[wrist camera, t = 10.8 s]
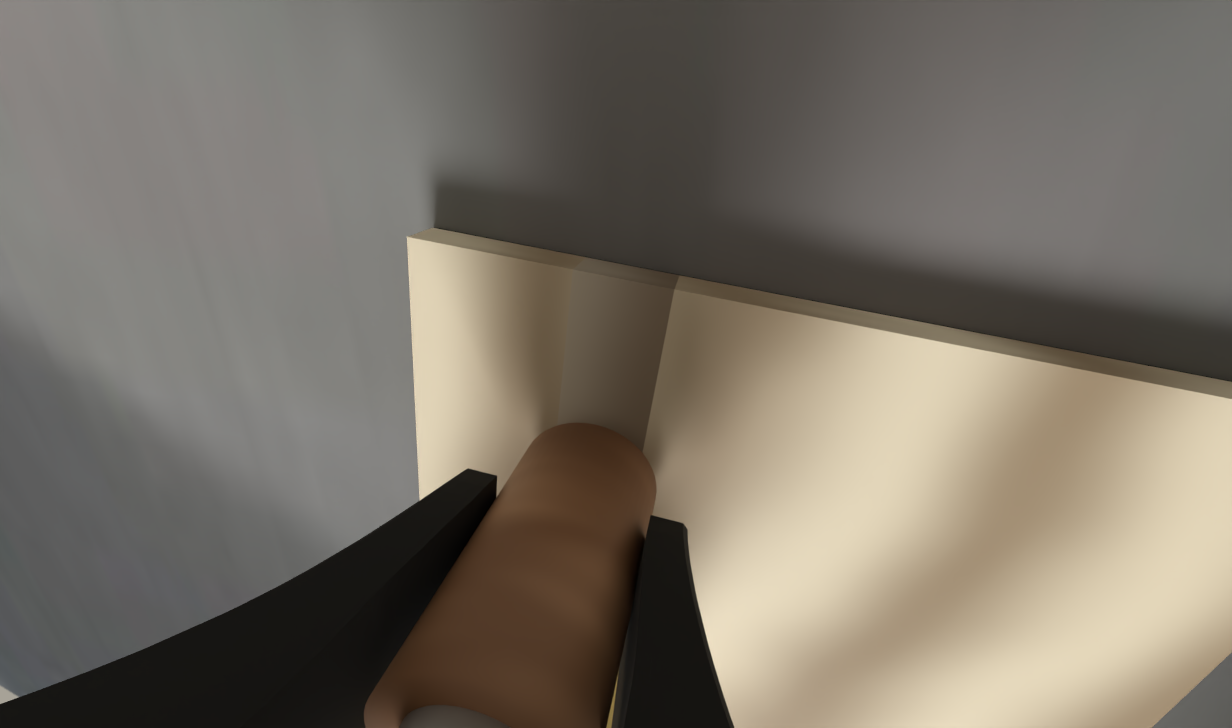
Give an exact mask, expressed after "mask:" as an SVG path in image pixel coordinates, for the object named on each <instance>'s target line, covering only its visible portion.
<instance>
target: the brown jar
mask: <svg viewBox="0 0 1232 728" xmlns="http://www.w3.org/2000/svg"><path fill="white" fill-rule="evenodd" d="M656 493H657V488H656V479H655V475H654V472H653V470H652V467H651V465H650V463H649V462H648V460H647V459H646V457H645V456H644V454H643V453H642V452H641V451H640V450H639V449H638V447H636V446H635V445H634V444H633V443H632V442H631V441H629V440H628V439H627V438H625V437H624V436H622V435H620V434H619V433H617V432H615V431H613V430H610V429H608V428H606V427H602V426H599V425H595V424H589V423H566V424H561V425H558V426H555V427H552V428H550V429H548V430H546V431H544V432H543V433H541V434H540V435H539V436H537V437H536V438H535V439H534V440H533V442H532V443H531V444H530V446H529V447H528V449H527V450H526V452H525V454H524V455H523V457H522V458H521V460H520V461H519V463H518V465H517V466H516V468H515V469H514V471H513V472H512V474H511V475H510V477H509V479H508V480H507V482H506V483H505V485H504V486H503V488H502V490H501V491H500V493H499V494H498V496H497V497H496V499H495V501H494V502H493V504H492V505H491V507H490V508H489V510H488V511H487V513H486V515H485V516H484V518H483V519H482V521H481V522H480V524H479V526H478V527H477V529H476V530H475V532H474V533H473V535H472V537H471V538H470V540H469V541H468V543H467V544H466V546H465V548H464V549H463V551H462V552H461V554H460V555H459V557H458V558H457V560H456V562H455V563H454V565H453V566H452V568H451V569H450V571H449V573H448V574H447V576H446V577H445V579H444V580H443V582H442V584H441V585H440V587H439V588H438V590H437V591H436V593H435V595H434V596H433V598H432V599H431V601H430V602H429V604H428V605H427V607H426V609H425V610H424V612H423V613H422V615H421V616H420V618H419V620H418V621H417V623H416V624H415V626H414V627H413V629H412V631H411V632H410V634H409V635H408V637H407V638H406V640H405V642H404V643H403V645H402V646H401V648H400V649H399V651H398V652H397V654H396V656H395V657H394V659H393V660H392V662H391V663H390V665H389V667H388V668H387V670H386V671H385V673H384V674H383V676H382V678H381V679H380V681H379V682H378V684H377V685H376V687H375V689H374V690H373V692H372V693H371V695H370V696H369V698H368V700H367V702H366V705H365V709H364V723H365V727H366V728H606V727H607V722H608V718H609V713H610V708H611V704H612V699H613V694H614V690H615V685H616V680H617V676H618V671H619V667H620V662H621V657H622V653H623V648H624V643H625V639H626V634H627V629H628V625H629V620H630V616H631V611H632V605H633V599H634V592H635V584H636V579H637V575H638V570H639V566H640V561H641V556H642V552H643V547H644V543H645V538H646V534H647V529H648V525H649V520H650V515H652V514H653V509H654V504H655V500H656Z"/></svg>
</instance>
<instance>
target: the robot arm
mask: <svg viewBox="0 0 1232 728" xmlns="http://www.w3.org/2000/svg"><path fill="white" fill-rule="evenodd" d="M496 496H497V476H496V475H492V474H489V473H485V472H481V471H477V470H473V469H469V468H468V469H466V470H464V471H463V472H461V473H460V474H458V475H457V476H455V477H454V478H452V479H451V480H449V481H448V482H446V483H445V484H443V485H442V486H440V487H439V488H437V489H436V490H434V491H433V492H432V493H430V494H429V495H427V496H426V497H424V498H423V499H421V500H420V501H418V502H417V503H415V504H414V505H412V506H411V507H409V508H408V509H406V510H405V511H403V512H402V513H400V514H399V515H397V516H396V517H394V518H393V519H391V520H390V521H388V522H386V523H385V524H383V525H382V526H380V527H379V528H377V529H376V530H374V531H373V532H371V533H369V534H368V535H366V536H365V537H363V538H361V539H360V540H358V541H357V542H355V543H353V544H352V545H350V546H348V547H346V548H345V549H343V550H341V551H340V552H338V553H336V554H335V555H333V556H331V557H330V558H328V559H326V560H324V561H323V562H321V563H319V564H318V565H316V566H314V567H313V568H311V569H309V570H307V571H305V572H304V573H302V574H300V575H298V576H296V577H295V578H293V579H291V580H289V581H287V582H285V583H284V584H282V585H280V586H278V587H276V588H274V589H272V590H270V591H268V592H266V593H264V594H262V595H260V596H258V597H256V598H254V599H252V600H250V601H249V602H247V603H245V604H243V605H241V606H239V607H236V608H234V609H232V610H230V611H228V612H226V613H224V614H222V615H220V616H217V617H215V618H213V619H211V620H208V621H206V622H204V623H202V624H199V625H197V626H195V627H193V628H190V629H188V630H186V631H184V632H181V633H179V634H177V635H175V636H172V637H170V638H168V639H166V640H163V641H161V642H159V643H157V644H154V645H152V646H150V647H148V648H145V649H143V650H140V651H138V652H136V653H133V654H131V655H128V656H126V657H123V658H121V659H118V660H116V661H113V662H111V663H108V664H106V665H103V666H101V667H98V668H96V669H93V670H91V671H88V672H86V673H83V674H80V675H78V676H75V677H73V678H70V679H67V680H65V681H62V682H59V683H57V684H54V685H51V686H49V687H46V688H43V689H41V690H38V691H36V692H33V693H30V694H27V695H24V696H22V697H19V698H16V699H14V700H11V701H8V702H5V703H2V704H0V728H366V727H365V723H364V709H365V705H366V702H367V700H368V698H369V696H370V695H371V693H372V692H373V690H374V689H375V687H376V685H377V684H378V682H379V681H380V679H381V678H382V676H383V674H384V673H385V671H386V670H387V668H388V667H389V665H390V663H391V662H392V660H393V659H394V657H395V656H396V654H397V652H398V651H399V649H400V648H401V646H402V645H403V643H404V642H405V640H406V638H407V637H408V635H409V634H410V632H411V631H412V629H413V627H414V626H415V624H416V623H417V621H418V620H419V618H420V616H421V615H422V613H423V612H424V610H425V609H426V607H427V605H428V604H429V602H430V601H431V599H432V598H433V596H434V595H435V593H436V591H437V590H438V588H439V587H440V585H441V584H442V582H443V580H444V579H445V577H446V576H447V574H448V573H449V571H450V569H451V568H452V566H453V565H454V563H455V562H456V560H457V558H458V557H459V555H460V554H461V552H462V551H463V549H464V548H465V546H466V544H467V543H468V541H469V540H470V538H471V537H472V535H473V533H474V532H475V530H476V529H477V527H478V526H479V524H480V522H481V521H482V519H483V518H484V516H485V515H486V513H487V511H488V510H489V508H490V507H491V505H492V504H493V502H494V501H495V499H496ZM611 728H734V725H733V722H732V719H731V716H730V713H729V710H728V707H727V704H726V701H725V698H724V695H723V692H722V689H721V685H720V682H719V679H718V676H717V672H716V669H715V666H714V663H713V659H712V656H711V652H710V648H709V645H708V641H707V637H706V633H705V629H704V625H703V621H702V617H701V613H700V609H699V605H698V600H697V596H696V591H695V586H694V580H693V575H692V569H691V563H690V556H689V546H688V529H687V528H686V526H685V525H684V524H683V523H681V522H677V521H673V520H669V519H665V518H661V517H657V516H653V515H650V520H649V525H648V529H647V534H646V538H645V543H644V547H643V552H642V556H641V561H640V566H639V570H638V575H637V579H636V584H635V592H634V599H633V605H632V611H631V616H630V620H629V625H628V629H627V634H626V639H625V643H624V648H623V653H622V657H621V662H620V667H619V673H618V680H617V688H616V696H615V703H614V711H613V719H612V727H611Z"/></svg>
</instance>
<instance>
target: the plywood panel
mask: <svg viewBox="0 0 1232 728" xmlns="http://www.w3.org/2000/svg"><path fill="white" fill-rule="evenodd" d="M407 247H408V267H409V288H410V309H411V329H412V350H413V371H414V392H415V412H416V433H417V454H418V475H419V495H420V500H421V499H423V498H424V497H426V496H427V495H429V494H430V493H432V492H433V491H434V490H436V489H437V488H439V487H440V486H442V485H443V484H445V483H446V482H448V481H449V480H451V479H452V478H454V477H455V476H457V475H458V474H460V473H461V472H463V471H464V470H466V469H468V468H469V469H473V470H477V471H481V472H485V473H489V474H492V475H496V476H497V496H498V494H499V493H500V491H501V490H502V488H503V486H504V485H505V483H506V482H507V480H508V479H509V477H510V475H511V474H512V472H513V471H514V469H515V468H516V466H517V465H518V463H519V461H520V460H521V458H522V457H523V455H524V454H525V452H526V450H527V449H528V447H529V446H530V444H531V443H532V442H533V440H534V439H535V438H536V437H537V436H539V435H540V434H541V433H543V432H544V431H546V430H548V429H550V428H552V427H555V426H558V425H561V424H566V423H589V424H595V425H599V426H602V427H606V428H608V429H610V430H613V431H615V432H617V433H619V434H620V435H622V436H624V437H625V438H627V439H628V440H629V441H631V442H632V443H633V444H634V445H635V446H636V447H638V449H639V450H640V451H641V452H642V453H643V454H644V456H645V457H646V459H647V460H648V462H649V463H650V465H651V467H652V470H653V472H654V475H655V479H656V488H657V493H656V500H655V504H654V509H653V514H652V515H653V516H657V517H661V518H665V519H669V520H673V521H677V522H681V523H683V524H684V525H685V526H686V528H687V529H688V546H689V556H690V563H691V569H692V575H693V580H694V586H695V591H696V596H697V600H698V605H699V609H700V613H701V617H702V621H703V625H704V629H705V633H706V637H707V641H708V645H709V648H710V652H711V656H712V659H713V663H714V666H715V669H716V672H717V676H718V679H719V682H720V685H721V689H722V692H723V695H724V698H725V701H726V704H727V707H728V710H729V713H730V716H731V719H732V722H733V725H734V728H1152V727H1153V726H1154V725H1155V724H1156V723H1157V722H1158V721H1159V720H1160V719H1161V718H1162V717H1163V716H1164V715H1165V714H1167V713H1168V712H1169V711H1170V710H1171V709H1172V708H1173V707H1174V706H1175V705H1176V704H1177V703H1178V702H1179V701H1180V700H1181V699H1182V698H1183V697H1185V696H1186V695H1187V694H1188V693H1189V692H1190V691H1191V690H1192V689H1193V688H1194V687H1195V686H1196V685H1197V684H1198V683H1199V682H1200V681H1201V680H1203V679H1204V678H1205V677H1206V676H1207V675H1208V674H1209V673H1210V672H1211V671H1212V670H1213V669H1214V668H1215V667H1216V666H1217V665H1218V664H1220V663H1221V662H1222V661H1223V660H1224V659H1225V658H1226V657H1227V656H1228V655H1229V654H1230V653H1231V652H1232V382H1229V381H1224V380H1219V379H1214V378H1209V377H1204V376H1198V375H1193V374H1188V373H1183V372H1178V371H1173V370H1167V369H1162V368H1157V367H1152V366H1147V365H1141V364H1136V363H1131V362H1126V361H1121V360H1116V359H1110V358H1105V357H1100V356H1095V355H1090V354H1084V353H1079V352H1074V351H1069V350H1064V349H1059V348H1053V347H1048V346H1043V345H1038V344H1033V343H1027V342H1022V341H1017V340H1012V339H1007V338H1002V337H996V336H991V335H986V334H981V333H976V332H970V331H965V330H960V329H955V328H950V327H945V326H939V325H934V324H929V323H924V322H919V321H913V320H908V319H903V318H898V317H893V316H888V315H882V314H877V313H872V312H867V311H862V310H856V309H851V308H846V307H841V306H836V305H831V304H825V303H820V302H815V301H810V300H805V299H799V298H794V297H789V296H784V295H779V294H774V293H768V292H763V291H758V290H753V289H748V288H742V287H737V286H732V285H727V284H722V283H717V282H711V281H706V280H701V279H696V278H691V277H685V276H680V275H675V274H670V273H665V272H660V271H654V270H649V269H644V268H639V267H634V266H628V265H623V264H618V263H613V262H608V261H603V260H597V259H592V258H587V257H582V256H577V255H571V254H566V253H561V252H556V251H551V250H546V249H540V248H535V247H530V246H525V245H520V244H515V243H509V242H504V241H499V240H494V239H489V238H483V237H478V236H473V235H468V234H463V233H458V232H452V231H447V230H442V229H437V228H431V229H428V230H425V231H422V232H419V233H417V234H414V235H411V236H408V237H407ZM497 496H496V497H497Z"/></svg>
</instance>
